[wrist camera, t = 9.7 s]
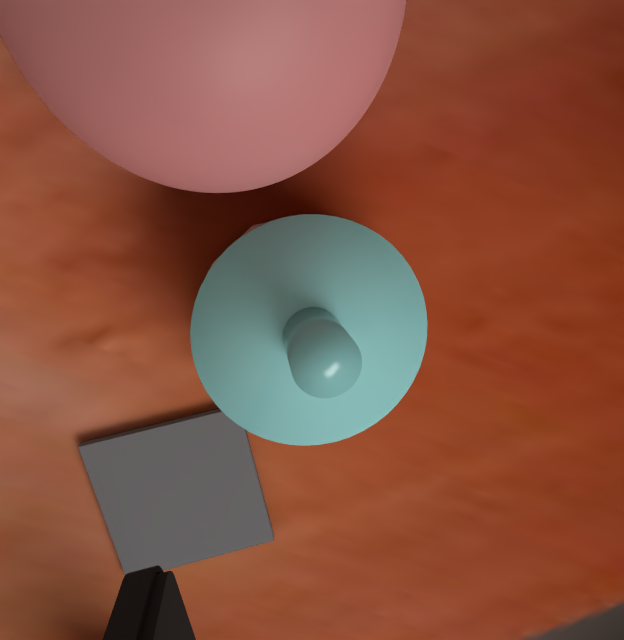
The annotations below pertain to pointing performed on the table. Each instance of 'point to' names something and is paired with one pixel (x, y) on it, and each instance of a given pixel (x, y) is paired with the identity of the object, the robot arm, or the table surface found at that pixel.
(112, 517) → the mat
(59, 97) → the balloon
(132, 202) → the table surface
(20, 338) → the table surface
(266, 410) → the lid
